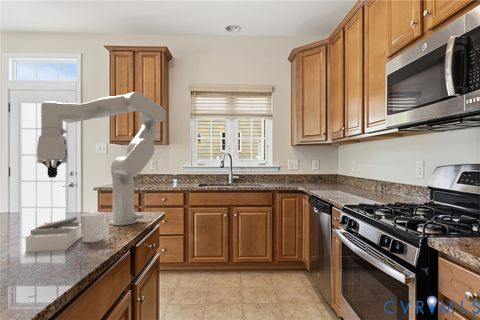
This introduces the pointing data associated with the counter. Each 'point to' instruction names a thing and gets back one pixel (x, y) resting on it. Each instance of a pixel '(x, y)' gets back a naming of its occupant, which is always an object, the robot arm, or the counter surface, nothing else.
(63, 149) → the robot arm
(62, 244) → the breaker panel
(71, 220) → the breaker rocker
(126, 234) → the counter surface
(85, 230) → the white cup
